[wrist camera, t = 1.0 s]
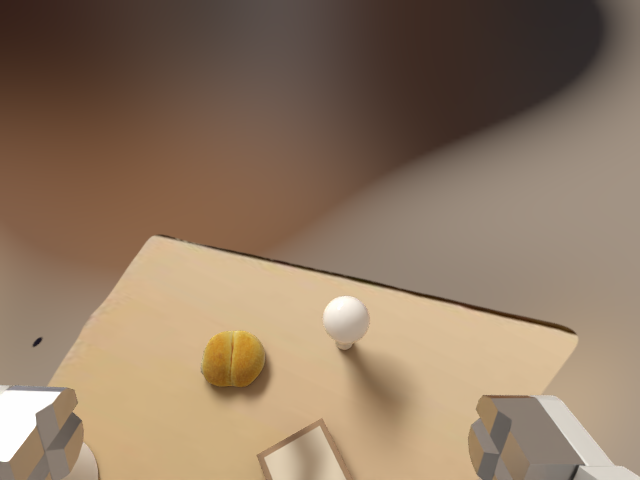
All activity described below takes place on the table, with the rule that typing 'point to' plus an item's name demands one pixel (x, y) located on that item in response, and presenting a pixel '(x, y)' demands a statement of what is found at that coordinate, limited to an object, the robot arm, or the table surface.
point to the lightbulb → (346, 321)
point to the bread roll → (233, 359)
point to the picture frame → (305, 457)
